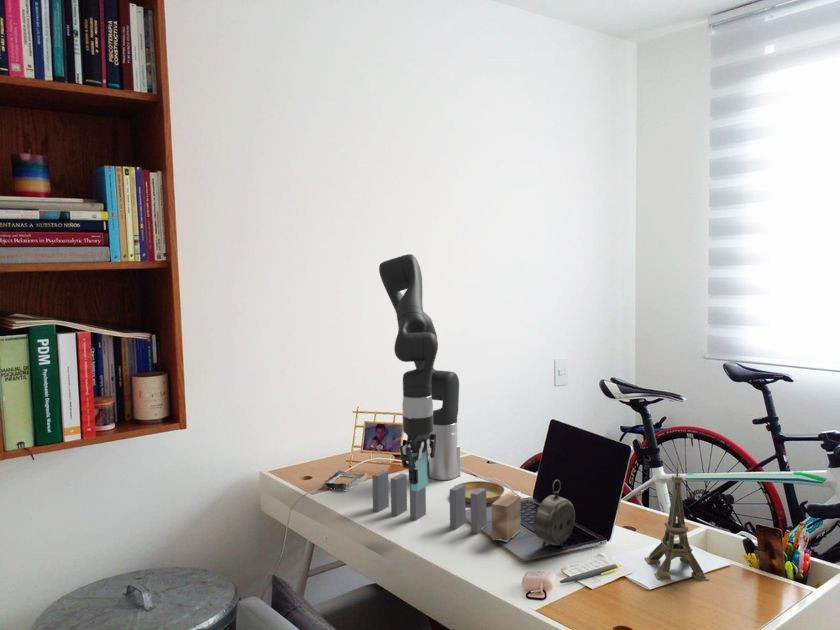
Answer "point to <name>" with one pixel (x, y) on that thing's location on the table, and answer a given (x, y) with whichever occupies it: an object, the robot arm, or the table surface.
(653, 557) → the eiffel tower
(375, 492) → the domino
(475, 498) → the domino
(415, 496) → the domino
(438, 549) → the table surface
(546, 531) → the alarm clock
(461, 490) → the domino
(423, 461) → the domino
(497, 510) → the end block
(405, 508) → the domino
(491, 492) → the plant saucer
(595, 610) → the table surface
